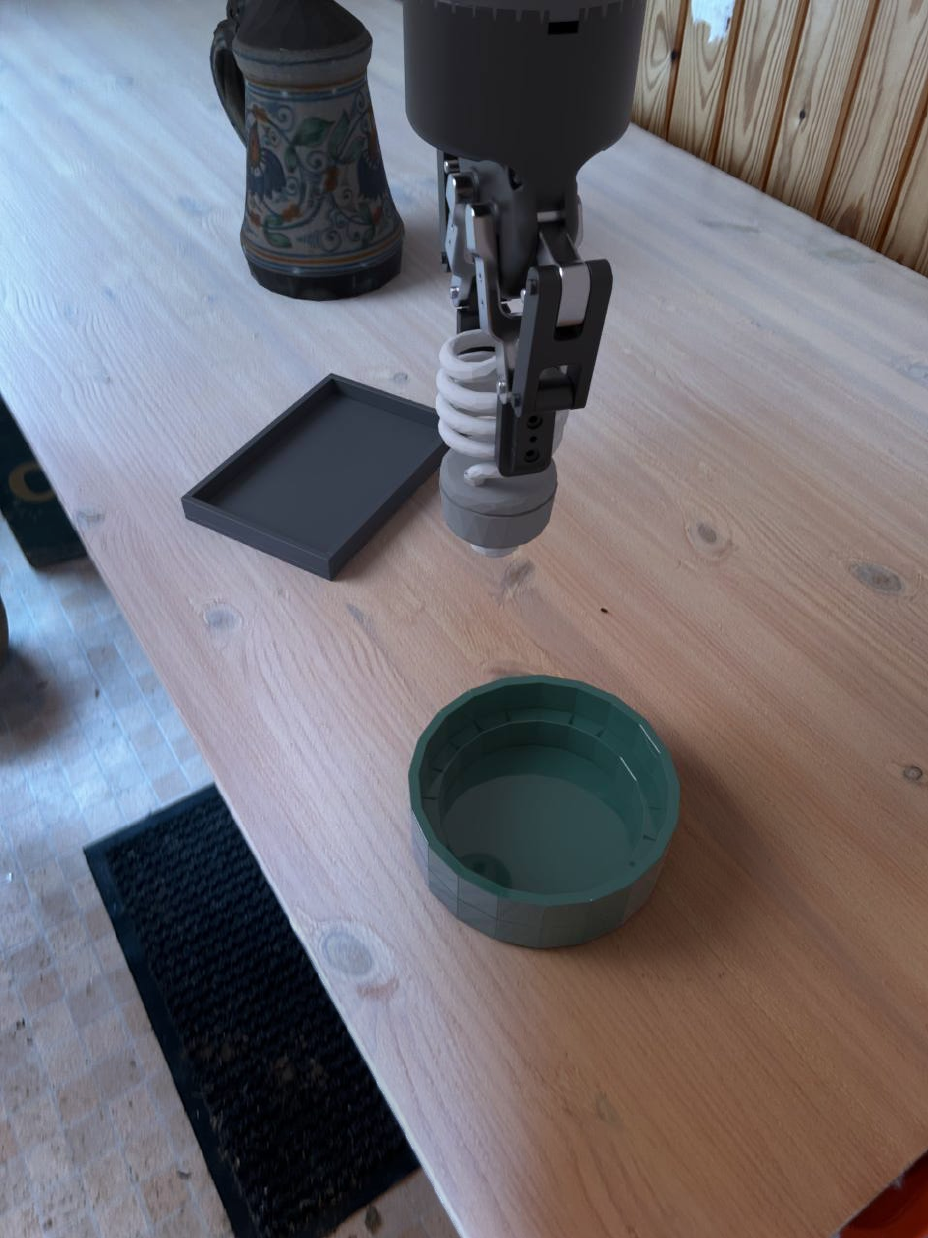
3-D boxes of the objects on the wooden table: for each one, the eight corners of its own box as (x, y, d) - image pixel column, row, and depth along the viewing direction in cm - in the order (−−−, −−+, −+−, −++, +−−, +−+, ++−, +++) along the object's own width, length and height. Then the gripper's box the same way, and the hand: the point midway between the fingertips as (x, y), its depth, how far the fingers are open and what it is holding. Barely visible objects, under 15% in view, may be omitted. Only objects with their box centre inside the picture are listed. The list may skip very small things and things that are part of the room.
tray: (330, 581, 68) (328, 560, 66) (185, 518, 72) (179, 497, 70) (465, 439, 79) (465, 418, 78) (332, 392, 83) (330, 372, 82)
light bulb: (514, 611, 44) (532, 385, 35) (413, 564, 46) (407, 339, 37) (572, 541, 47) (602, 319, 39) (475, 501, 49) (483, 280, 41)
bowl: (601, 1000, 48) (613, 958, 44) (362, 870, 52) (355, 822, 49) (700, 789, 56) (717, 739, 53) (487, 693, 61) (489, 641, 57)
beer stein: (382, 311, 93) (366, 15, 74) (192, 289, 95) (131, -3, 77) (422, 234, 104) (416, -40, 85) (250, 216, 106) (209, -54, 88)
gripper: (359, -89, 33) (381, 348, 45) (466, 45, 24) (457, 551, 36) (566, -96, 34) (533, 329, 47) (745, 27, 25) (645, 520, 37)
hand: (500, 424), depth 41 cm, fingers closed on light bulb, 5 cm apart
